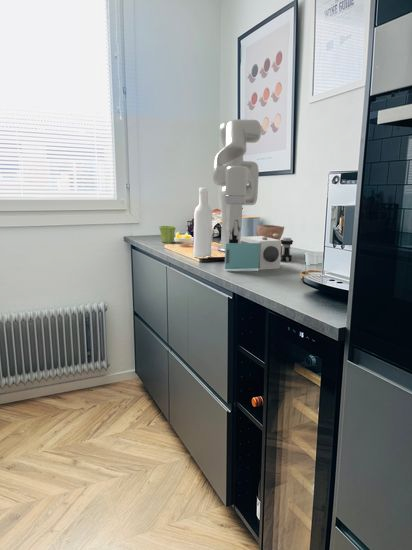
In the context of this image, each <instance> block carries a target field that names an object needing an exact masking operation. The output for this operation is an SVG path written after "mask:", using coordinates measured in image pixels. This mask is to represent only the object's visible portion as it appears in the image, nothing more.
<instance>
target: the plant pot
mask: <svg viewBox="0 0 412 550" xmlns="http://www.w3.org/2000/svg"><path fill="white" fill-rule="evenodd" d="M158 228H159V230H160V238H161V242H162V243H166V244H171V243H174V238H175V232H176V228H177V226H175V225H161V226H158Z"/></svg>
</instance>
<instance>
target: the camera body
mask: <svg viewBox="0 0 412 550" xmlns="http://www.w3.org/2000/svg"><path fill="white" fill-rule="evenodd" d="M281 240H282V239H280V240H277V239H273V238H268V237H263V236H258V235H255V236H254V235H253V236H252V235H251V236H241V239H240V243H261V253H260V268H258V269H256V270H257V271H262V270H275V269H280V268H281V267H280V266H281V265H280V264H281V261H280V254H281V245H282V244H281Z"/></svg>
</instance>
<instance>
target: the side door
mask: <svg viewBox="0 0 412 550" xmlns="http://www.w3.org/2000/svg"><path fill="white" fill-rule="evenodd" d="M260 253H261V243H225V252H224V270H239V269H240V270H244V269H246V270H248V269H251V270H252V269H254V270H257V269H258V268H260Z"/></svg>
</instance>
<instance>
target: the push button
mask: <svg viewBox="0 0 412 550" xmlns="http://www.w3.org/2000/svg"><path fill="white" fill-rule="evenodd" d="M280 240H281V245H282V255H280V263H281V262H282V263H284V262H285V263H286V262H290V263H291V262H292V260H293V255H292V254H291V246H292V245H293V242H294V240H292V237H282V238H281V239H280Z"/></svg>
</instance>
